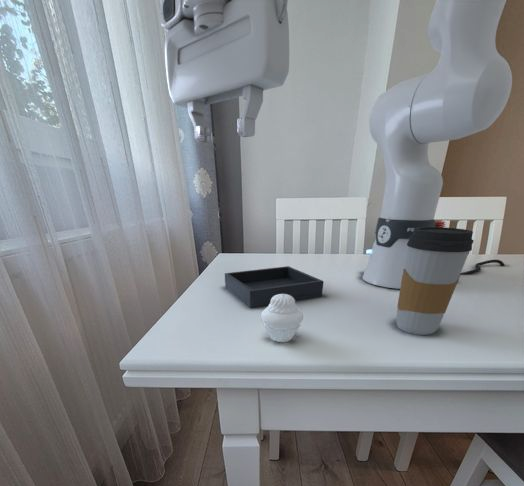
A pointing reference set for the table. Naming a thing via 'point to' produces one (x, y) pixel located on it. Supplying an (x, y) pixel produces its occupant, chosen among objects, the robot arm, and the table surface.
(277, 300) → the muffin
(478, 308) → the table surface
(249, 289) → the tray
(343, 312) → the table surface
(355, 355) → the table surface
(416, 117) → the robot arm
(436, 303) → the coffee cup
